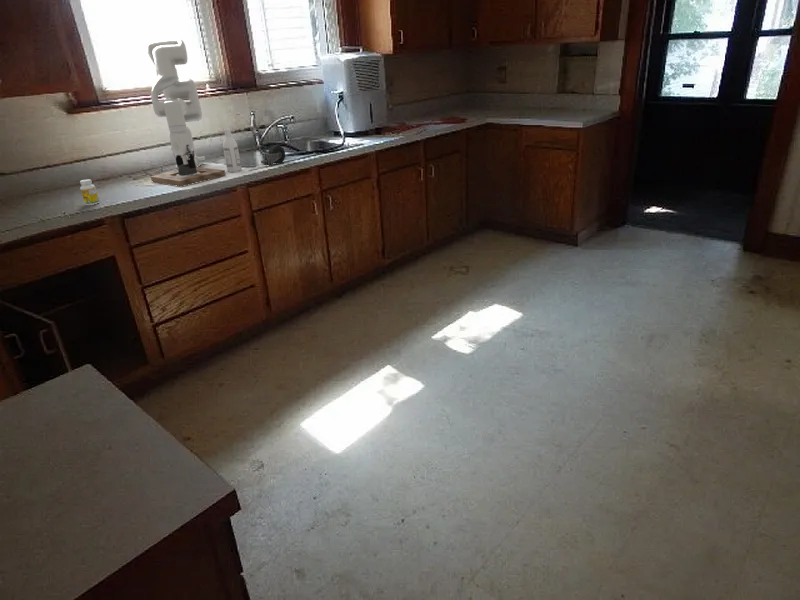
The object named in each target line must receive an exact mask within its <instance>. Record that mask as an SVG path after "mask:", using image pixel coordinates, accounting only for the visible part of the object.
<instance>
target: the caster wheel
mask: <svg viewBox="0 0 800 600" xmlns="http://www.w3.org/2000/svg"><path fill="white" fill-rule="evenodd" d="M285 159H286V151H285V149H284V148H283V147H282V146H281V145H279V144H275V145H274V144H273V145H272V146H271V147H270V148H269V150H268V152H267V153H264V160H261V161H260V163H261V164H265V166H267V165H273V166H274V164H275V163H276V165H277V163H280V164H282V163H284V161H285ZM281 162H282V163H281Z"/></svg>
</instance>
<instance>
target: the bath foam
mask: <svg viewBox="0 0 800 600" xmlns="http://www.w3.org/2000/svg"><path fill="white" fill-rule="evenodd" d="M223 133H224V139H223V141H222V150H223V155H224V160H225V161H224V162H225V165H226V166H225V167H226V170H227V172H228V173H237V171H238V172H241V171H242V170H243V168H242V164H241V163H242V162H241V156H240V153H239V147H238V146H239V145H238V143H237V141H236V140H235V139H234V137H233V136H232V131H231V128H224V129H223Z"/></svg>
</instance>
